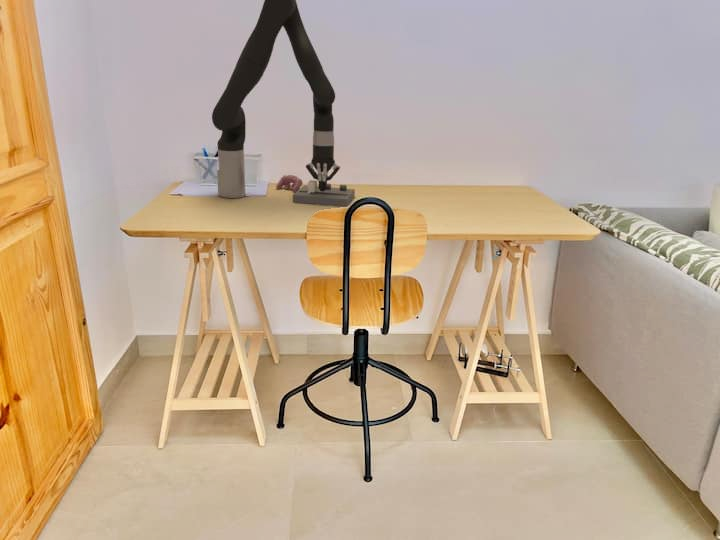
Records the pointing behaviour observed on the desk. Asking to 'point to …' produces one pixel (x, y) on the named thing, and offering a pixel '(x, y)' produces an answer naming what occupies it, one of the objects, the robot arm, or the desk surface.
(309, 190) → the fader knob
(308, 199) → the console
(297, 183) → the maroon arched lump
